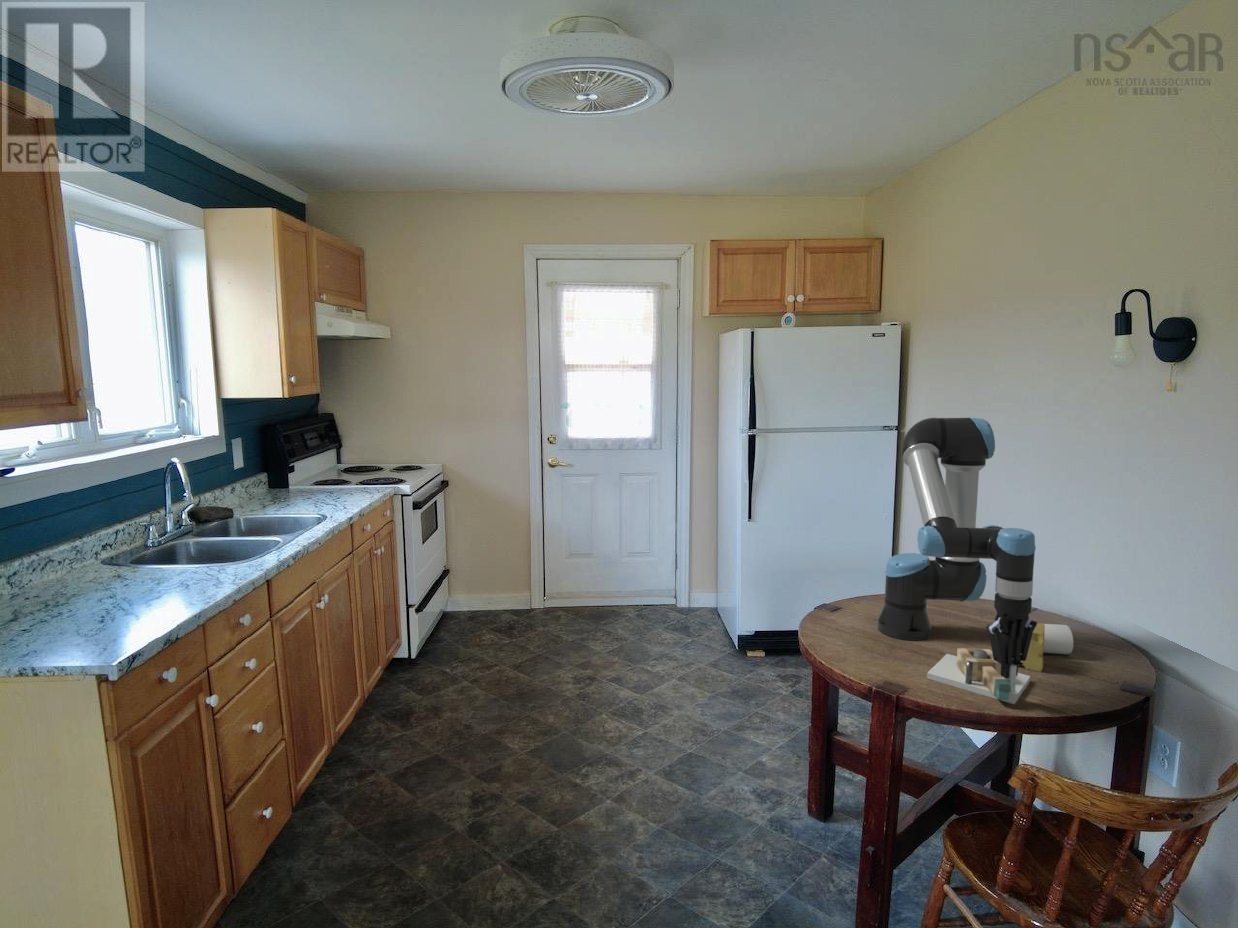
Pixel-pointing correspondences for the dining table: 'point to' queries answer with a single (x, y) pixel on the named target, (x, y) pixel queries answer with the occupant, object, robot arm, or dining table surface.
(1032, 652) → the cheese
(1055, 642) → the mug
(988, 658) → the wooden frame with handle
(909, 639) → the robot arm
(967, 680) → the dowel
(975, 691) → the base
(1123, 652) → the dining table surface
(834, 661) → the dining table surface
